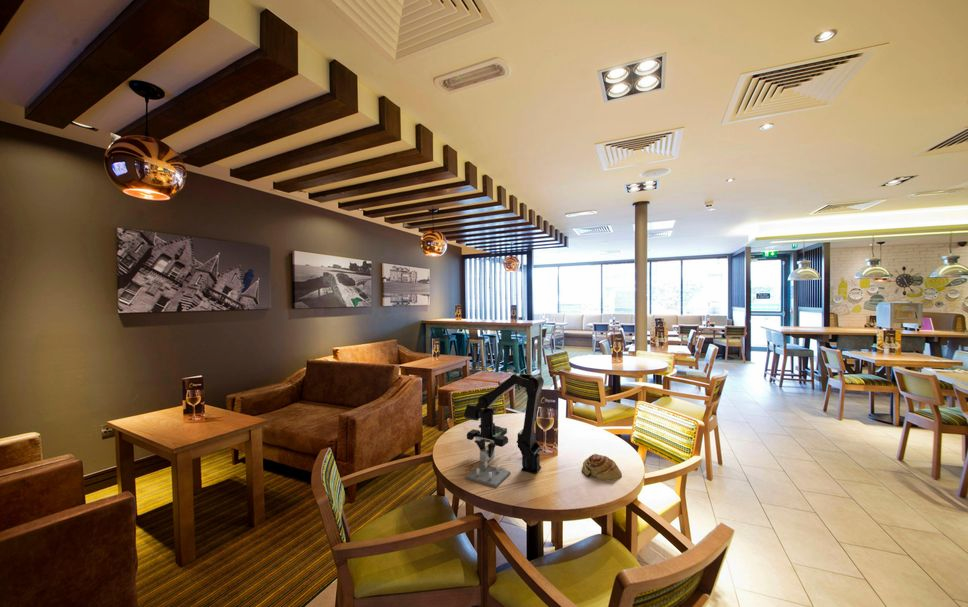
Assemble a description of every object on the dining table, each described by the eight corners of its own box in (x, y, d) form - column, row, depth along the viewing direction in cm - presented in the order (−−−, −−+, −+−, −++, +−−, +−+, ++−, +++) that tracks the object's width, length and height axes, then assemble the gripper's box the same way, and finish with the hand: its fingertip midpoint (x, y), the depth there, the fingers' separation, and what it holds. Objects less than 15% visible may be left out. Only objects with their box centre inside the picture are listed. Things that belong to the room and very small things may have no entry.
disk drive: (490, 430, 190) (477, 439, 176) (489, 425, 190) (477, 434, 176) (507, 433, 185) (496, 443, 172) (507, 428, 185) (496, 437, 172)
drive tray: (510, 473, 140) (510, 465, 140) (496, 487, 130) (496, 478, 130) (481, 465, 147) (481, 457, 147) (465, 478, 137) (465, 469, 137)
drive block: (494, 456, 156) (494, 445, 156) (485, 463, 149) (485, 451, 149) (488, 454, 158) (488, 443, 158) (479, 461, 151) (479, 450, 151)
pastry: (575, 469, 143) (575, 450, 143) (604, 462, 149) (604, 444, 149) (597, 484, 131) (597, 464, 131) (627, 477, 136) (627, 457, 136)
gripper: (513, 419, 156) (513, 454, 156) (478, 413, 165) (479, 445, 165) (501, 427, 146) (502, 464, 146) (465, 420, 156) (466, 454, 156)
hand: (487, 456), depth 154 cm, fingers closed on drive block, 3 cm apart
